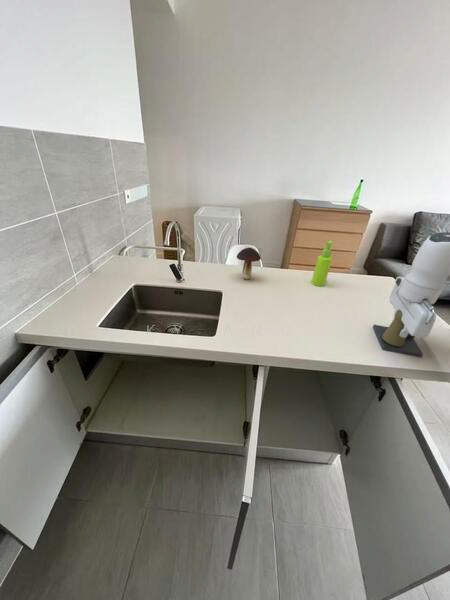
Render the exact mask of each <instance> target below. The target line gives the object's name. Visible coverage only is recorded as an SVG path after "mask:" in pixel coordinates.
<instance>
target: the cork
mask: <svg viewBox="0 0 450 600" xmlns="http://www.w3.org/2000/svg"><path fill="white" fill-rule="evenodd" d="M401 318H402V312H401V310H397V312H396V313H395V319H394V321H393V322H392V321H391V323H390V324H389V325H388V326H387V327H388V329H387V330H386V331H385V333H384V334H383V336H382V338H383V340H384V341H386V342H387V343H389V344H391V345H394V346H402V345H403V344H404V341H405V338H406V337H405V338H404V337H400V335H399V334H398V333H399V331H400V329H402V330H403V329H404V323H403V322H402V320H401Z"/></svg>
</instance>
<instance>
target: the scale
mask: <svg viewBox="0 0 450 600" xmlns="http://www.w3.org/2000/svg"><path fill="white" fill-rule="evenodd" d="M388 327H389V326H385V325H378V324H373V325H372V330H373V332H374V334H375V337H376V339H377V341H378V344H379V346H380V349H381V350H382V351H385V352H390V353H395V354H401V355H407V356H411V357H417V358H423V356H424V353H423V351H422V350H421V348H420V346H419V345H418V343H417V342H416V340H415V336H412V335H410V333H409V334H408V335H407V337H406V338H405V341H404V344H403V345H402V346H394V345H391V344H389V343H387V342H386V341H384V340H383V338H382V336H383V334H384V333H385V331H386V330H387V329H388Z"/></svg>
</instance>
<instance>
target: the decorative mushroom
mask: <svg viewBox="0 0 450 600" xmlns="http://www.w3.org/2000/svg"><path fill="white" fill-rule="evenodd" d="M236 259H237V260H239V261H243V267H242V273H241V275H242V278H243V279H245V280H249V279H251V277H252V273H253V272H252V271H253V264H252V263H254V262H259V261H261V259H262V256H261V254H260V253H259V252H258V251H257V250H256V249H254V248H252V247H245V248H243V249H241V250H240V251H239V252H238V253H237V255H236Z"/></svg>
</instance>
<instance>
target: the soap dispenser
mask: <svg viewBox="0 0 450 600" xmlns="http://www.w3.org/2000/svg"><path fill="white" fill-rule="evenodd" d="M333 243H334V240H331V239H328V240H327V241H326V243H325V244H326V245H325V248H323V249H322V252H321V254H319V255H318V256H317V260H316V263H315V267H314V271H313V275H312V279H311V284H312V285H313V286H315V287H324V286H325V285H326V281H327V278H328V275H329V272H330V267H331V265H332V261H333V257H332V256H331V255H332V254H331V253H332V249H331V245H332V244H333Z"/></svg>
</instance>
